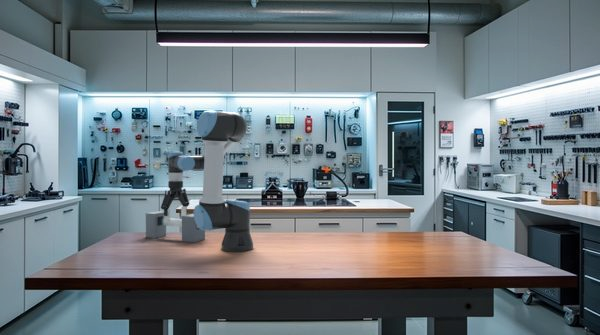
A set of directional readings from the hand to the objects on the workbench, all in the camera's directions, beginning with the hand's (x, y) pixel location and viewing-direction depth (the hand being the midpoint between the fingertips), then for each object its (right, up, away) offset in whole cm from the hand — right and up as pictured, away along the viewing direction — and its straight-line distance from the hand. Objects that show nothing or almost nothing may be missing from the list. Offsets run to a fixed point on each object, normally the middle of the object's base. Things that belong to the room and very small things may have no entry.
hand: (175, 220), depth 225 cm
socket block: (-12, -10, +5) cm, 16 cm away
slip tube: (+5, -3, -2) cm, 6 cm away
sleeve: (+11, -10, -4) cm, 15 cm away
